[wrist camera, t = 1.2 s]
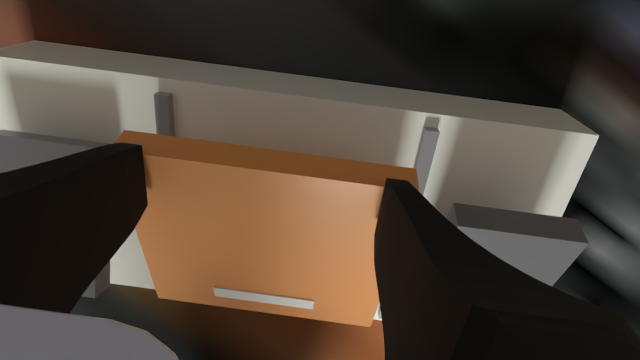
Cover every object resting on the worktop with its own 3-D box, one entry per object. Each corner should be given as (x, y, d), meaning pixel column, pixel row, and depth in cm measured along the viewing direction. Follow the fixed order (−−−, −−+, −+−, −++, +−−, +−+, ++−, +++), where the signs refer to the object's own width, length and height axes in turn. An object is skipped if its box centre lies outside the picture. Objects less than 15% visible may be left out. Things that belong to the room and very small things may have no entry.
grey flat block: (506, 308, 17) (513, 333, 16) (411, 295, 17) (413, 319, 16) (576, 219, 13) (589, 245, 12) (453, 202, 13) (458, 227, 12)
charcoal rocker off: (109, 285, 16) (94, 298, 15) (9, 271, 16) (-14, 284, 15) (111, 143, 15) (94, 148, 14) (2, 129, 15) (-23, 132, 14)
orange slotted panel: (370, 305, 18) (370, 328, 17) (167, 277, 18) (157, 299, 17) (416, 168, 12) (419, 193, 12) (124, 129, 12) (107, 151, 12)
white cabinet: (486, 291, 21) (514, 359, 18) (74, 235, 22) (16, 290, 18) (560, 109, 17) (619, 149, 13) (34, 40, 17) (-56, 59, 13)
